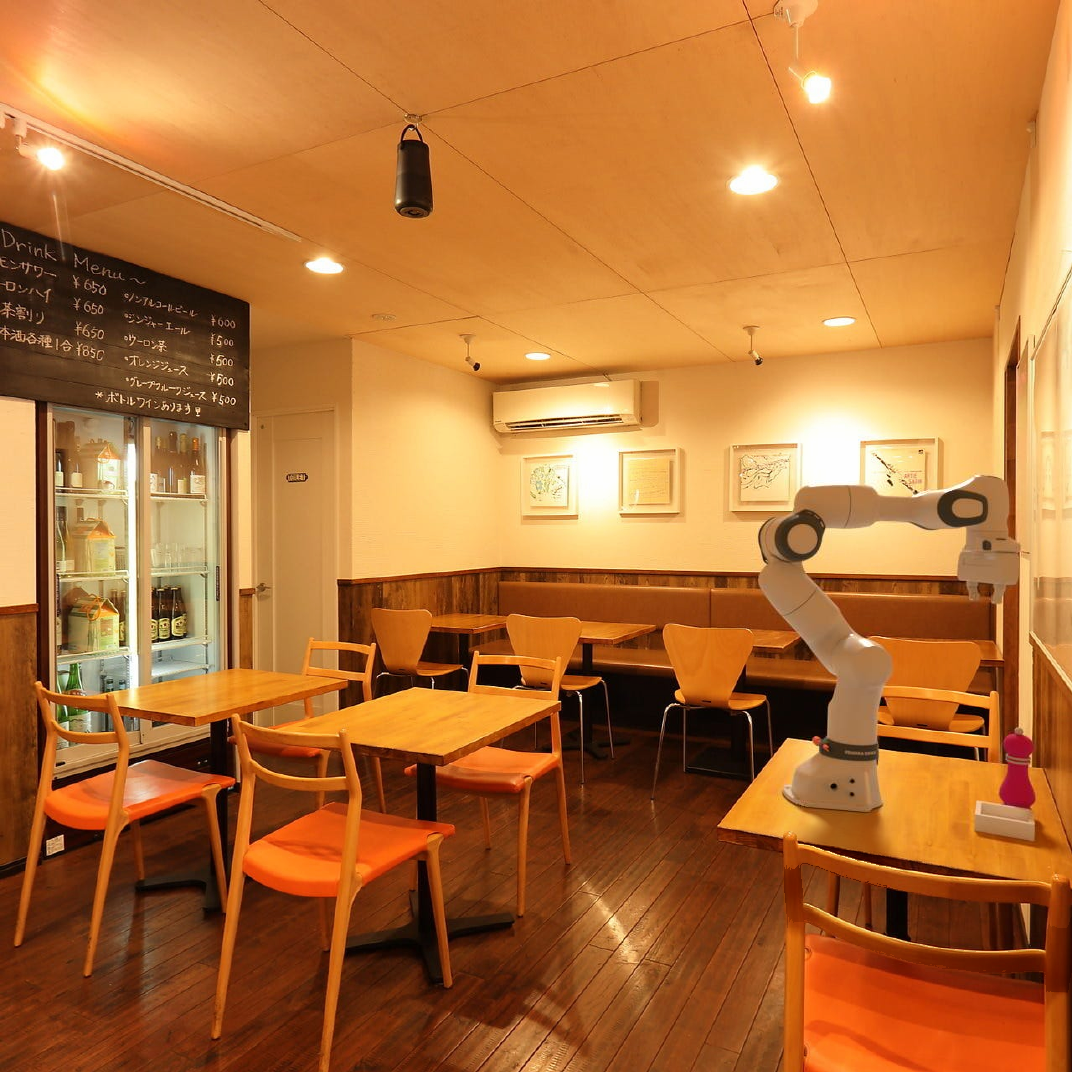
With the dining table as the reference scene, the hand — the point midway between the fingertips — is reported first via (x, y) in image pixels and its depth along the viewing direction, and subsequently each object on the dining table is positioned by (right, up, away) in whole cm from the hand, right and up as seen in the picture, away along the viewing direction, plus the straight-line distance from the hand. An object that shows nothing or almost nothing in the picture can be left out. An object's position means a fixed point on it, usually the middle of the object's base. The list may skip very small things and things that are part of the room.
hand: (985, 602), depth 194 cm
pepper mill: (+3, -48, -8) cm, 49 cm away
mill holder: (-5, -48, -17) cm, 51 cm away
